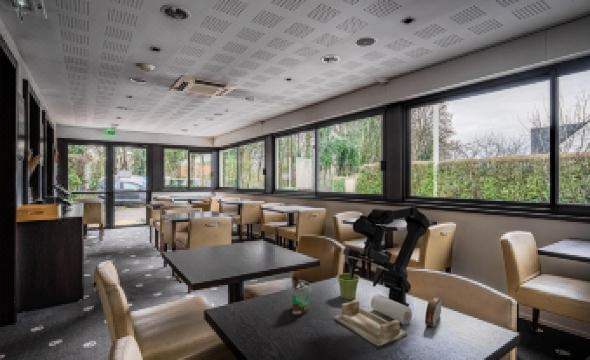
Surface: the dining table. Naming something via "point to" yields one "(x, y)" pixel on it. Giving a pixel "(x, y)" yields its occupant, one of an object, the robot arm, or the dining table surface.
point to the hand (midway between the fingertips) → (362, 282)
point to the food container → (301, 298)
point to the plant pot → (348, 285)
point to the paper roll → (391, 308)
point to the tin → (433, 311)
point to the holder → (369, 324)
